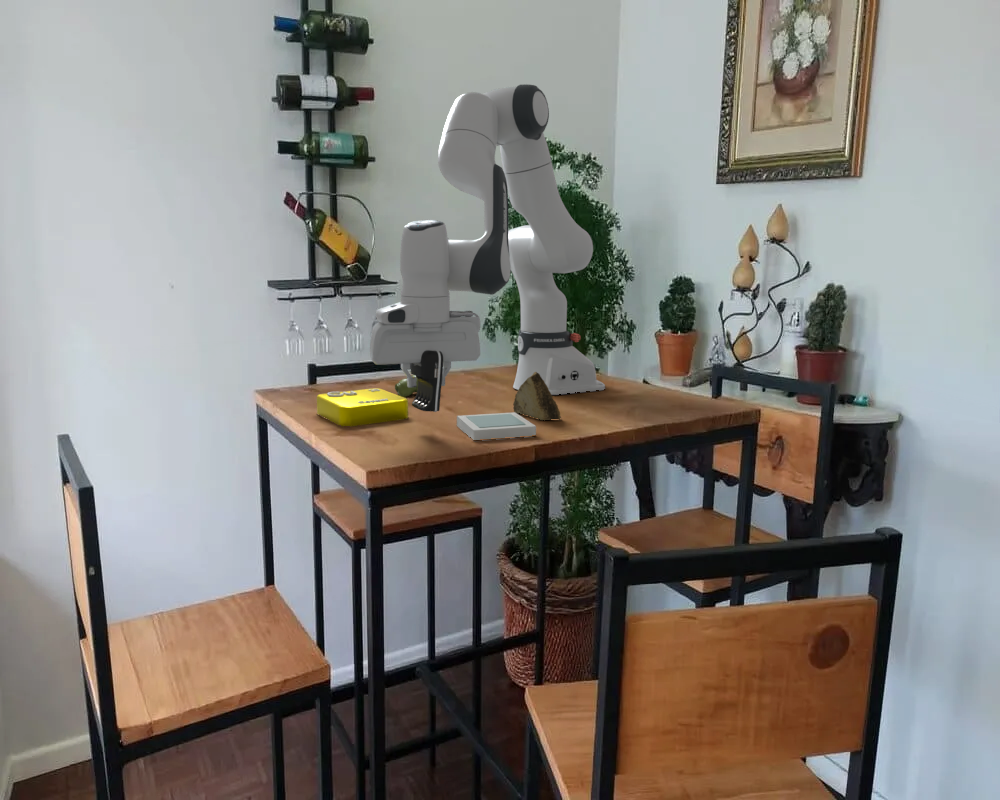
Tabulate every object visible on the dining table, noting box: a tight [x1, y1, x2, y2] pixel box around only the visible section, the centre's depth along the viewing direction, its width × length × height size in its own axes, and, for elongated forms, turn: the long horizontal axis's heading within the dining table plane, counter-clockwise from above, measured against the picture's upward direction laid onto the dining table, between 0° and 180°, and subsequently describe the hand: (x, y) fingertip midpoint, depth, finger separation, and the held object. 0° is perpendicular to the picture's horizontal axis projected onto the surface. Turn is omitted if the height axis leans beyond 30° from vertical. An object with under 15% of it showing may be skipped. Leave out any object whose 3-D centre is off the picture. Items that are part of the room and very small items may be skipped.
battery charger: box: [410, 350, 444, 413], centre depth 144 cm, size 7×4×11 cm, turn 31°
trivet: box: [456, 411, 537, 441], centre depth 148 cm, size 12×12×2 cm
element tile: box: [316, 387, 409, 427], centre depth 160 cm, size 15×15×5 cm
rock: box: [512, 372, 562, 421], centre depth 161 cm, size 11×9×10 cm
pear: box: [394, 374, 418, 398], centre depth 182 cm, size 6×5×10 cm
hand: (426, 386), depth 145 cm, fingers closed on battery charger, 4 cm apart
